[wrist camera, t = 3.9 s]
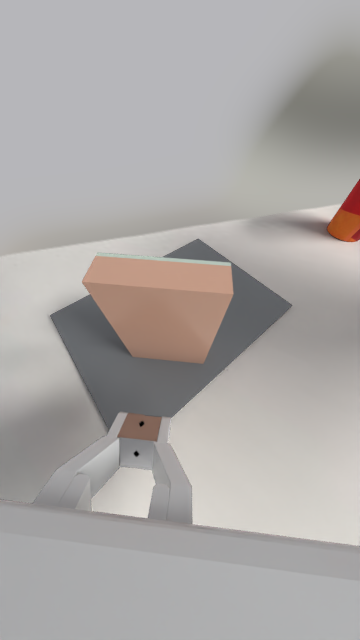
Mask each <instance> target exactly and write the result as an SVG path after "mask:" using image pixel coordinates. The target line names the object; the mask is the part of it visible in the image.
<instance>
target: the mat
mask: <svg viewBox="0 0 360 640" xmlns="http://www.w3.org/2000/svg"><path fill="white" fill-rule="evenodd" d="M164 258H177V259H190V260H204V261H217V262H230V261H229V260H228V259H226V258H225V257H223V256H222V255H221V254H219V253H218V252H216V251H215V250H213V249H212V248H211V247H209V246H208V245H206V244H205V243H204V242H202V241H201V240H199V239H197V240H195V241H193V242H191V243H189V244H187V245H185V246H183V247H181V248H179V249H177V250H175V251H174V252H172V253H170V254H168V255H166V256H164ZM230 263H231V270H232V282H233V297H232V299H231V301H230V304H229V306H228V308H227V310H226V313H225V315H224V317H223V320H222V322H221V324H220V327H219V329H218V331H217V334H216V336H215V338H214V341H213V343H212V345H211V347H210V350H209V352H208V354H207V357H206V359H205V361H204V364H200V363H190V362H180V361H169V360H159V359H149V358H139V357H132V355H131V354H130V352H129V351H128V349H127V348H126V346H125V345H124V343H123V342H122V340H121V339H120V337H119V336H118V334H117V333H116V332H115V330H114V329H113V327H112V326H111V324H110V323H109V321H108V320H107V318H106V317H105V315H104V314H103V312H102V311H101V309H100V308H99V306H98V305H97V303H96V302H95V301H94V299H93V298H92V296H91V295H88V296H86V297H84V298H82V299H80V300H79V301H77V302H75V303H73V304H71V305H69V306H67V307H65V308H63V309H61V310H59V311H57V312H55V313H53V314H51V315H50V316H51V318H52V320H53V322H54V324H55V326H56V328H57V330H58V332H59V334H60V336H61V338H62V339H63V341H64V343H65V345H66V347H67V349H68V351H69V353H70V355H71V357H72V359H73V361H74V363H75V365H76V367H77V369H78V370H79V372H80V374H81V376H82V378H83V380H84V382H85V384H86V386H87V388H88V390H89V392H90V394H91V396H92V398H93V400H94V402H95V403H96V405H97V407H98V409H99V411H100V413H101V415H102V417H103V419H104V421H105V423H106V425H107V427H108V429H109V430H110V428H111V426H112V424H113V422H114V421H115V419H116V417H117V415H118V413H119V412H126V413H135V414H143V415H153V416H163V417H171V418H172V417H173V416H174V415H175V414H176V413H177V412H178V411H179V410H180V409H181V408H182V407H183V406H185V405H186V404H187V403H188V402H189V401H190V400H191V399H192V398H193V397H194V396H195V395H196V394H197V393H199V392H200V391H201V390H202V389H203V388H204V387H205V386H206V385H207V384H208V383H209V382H210V381H212V380H213V379H214V378H215V377H216V376H217V375H218V374H219V373H220V372H221V371H222V370H223V369H224V368H226V367H227V366H228V365H229V364H230V363H231V362H232V361H233V360H234V359H235V358H236V357H237V356H239V355H240V354H241V353H242V352H243V351H244V350H245V349H246V348H247V347H248V346H249V345H250V344H251V343H253V342H254V341H255V340H256V339H257V338H258V337H259V336H260V335H261V334H262V333H263V332H264V331H265V330H267V329H268V328H269V327H270V326H271V325H272V324H273V323H274V322H275V321H276V320H277V319H278V318H280V317H281V316H282V315H283V314H284V313H285V312H286V311H287V310H288V309H289V308H290V307H291V306H292V305H291V304H290V303H288V302H287V301H286V300H284V299H283V298H281V297H280V296H279V295H277V294H276V293H274V292H273V291H272V290H270V289H269V288H267V287H266V286H264V285H263V284H262V283H260V282H259V281H257V280H256V279H255V278H253V277H252V276H250V275H249V274H247V273H246V272H245V271H243V270H242V269H240V268H239V267H238V266H236V265H235V264H233V263H232V262H230Z"/></svg>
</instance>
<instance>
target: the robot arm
mask: <svg viewBox="0 0 360 640" xmlns="http://www.w3.org/2000/svg"><path fill="white" fill-rule="evenodd" d="M170 424H171V417H163V416H153V415H143V414H135V413H126V412H119V413H118V415H117V417H116V419H115V421H114V422H113V424H112V426H111V428H110V430H109V432H108V434H107V436H103V437H101V438H100V439H98V440H97V441H96V442H94V443H93V444H91V445H90V446H89V447H87V448H86V449H84V450H83V451H82V452H80V453H79V454H77V455H76V456H75V457H73V458H72V459H70V460H69V461H68V462H66V463H65V464H63V465H62V466H61V467H59V468H58V469H56V471H55V472H54V473H53V475H52V476H51V478H50V479H49V480H48V482H47V483H46V485H45V486H44V488H43V489H42V490H41V492H40V493H39V495H38V496H37V497H36V499H35V500H34V502H33V503H25V502H17V501H9V500H2V499H0V640H360V546H356V545H348V544H341V543H333V542H325V541H318V540H310V539H302V538H294V537H287V536H279V535H271V534H264V533H256V532H248V531H241V530H233V529H225V528H218V527H210V526H202V525H195V524H192V486H191V484H190V482H189V480H188V478H187V476H186V474H185V472H184V470H183V468H182V466H181V464H180V462H179V460H178V458H177V456H176V454H175V452H174V450H173V448H172V446H171V444H169V436H170ZM119 467H131V468H140V469H146V470H152V473H153V476H154V480H155V483H156V485H155V486H154V487H153V493H152V498H151V503H150V509H149V514H148V518H140V517H132V516H125V515H117V514H109V513H102V512H94V511H92V508H91V499H92V498H93V496H94V495H95V494H96V493H97V492H98V491H99V490H100V489H101V488H102V487H103V485H104V484H105V483H106V482H107V481H108V480H109V479H110V478H111V477H112V475H113V474H114V473H115V472H116V471H117V470H118V469H119Z"/></svg>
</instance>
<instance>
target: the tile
mask: <svg viewBox="0 0 360 640" xmlns="http://www.w3.org/2000/svg"><path fill="white" fill-rule="evenodd" d="M82 283H83V284H84V286H85V287H86V289H87V290H88V292H89V293H90V295H91V296H92V298H93V299H94V301H95V302H96V303H97V305H98V306H99V308H100V309H101V311H102V312H103V314H104V315H105V317H106V318H107V320H108V321H109V323H110V324H111V326H112V327H113V329H114V330H115V332H116V333H117V334H118V336H119V337H120V339H121V340H122V342H123V343H124V345H125V346H126V348H127V349H128V351H129V352H130V354H131V355H132V357H139V358H149V359H159V360H169V361H180V362H190V363H200V364H204V361H205V359H206V357H207V354H208V352H209V350H210V347H211V345H212V343H213V341H214V338H215V336H216V334H217V331H218V329H219V327H220V324H221V322H222V320H223V317H224V315H225V313H226V310H227V308H228V306H229V304H230V301H231V299H232V297H233V282H232V270H231V263H230V262H217V261H204V260H190V259H177V258H164V257H150V256H137V255H124V254H110V253H97V254H96V256H95V258H94V260H93V262H92V264H91V266H90V267H89V269H88V271H87V273H86V275H85V277H84V279H83V281H82Z"/></svg>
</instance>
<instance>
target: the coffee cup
mask: <svg viewBox="0 0 360 640" xmlns="http://www.w3.org/2000/svg"><path fill="white" fill-rule="evenodd" d="M327 231H328V232H329V234H331V235H332V236H333V237H335V238H337V239H339V240H342V241H347V242H355V241H358V240H360V179H359V181H358V182H357V184H356V185H355V187H354V188H353V190H352V191H351V192H350V194H349V195H348V197H347V198H346V200H345V201H344V203H343V204H342V206H341V207H340V209H339V210H338V212H337V213H336V214H335V216H334V217H333V219H332V220H331V222H330V224H329V225H328V227H327Z"/></svg>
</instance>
